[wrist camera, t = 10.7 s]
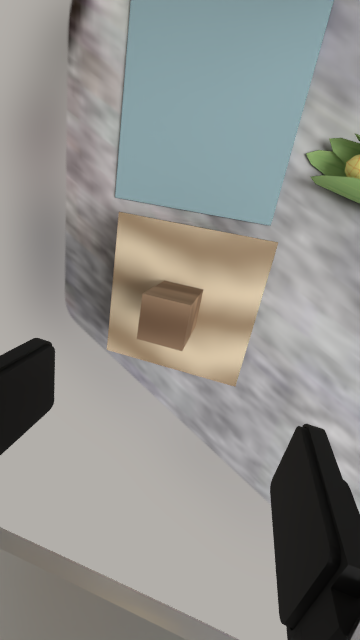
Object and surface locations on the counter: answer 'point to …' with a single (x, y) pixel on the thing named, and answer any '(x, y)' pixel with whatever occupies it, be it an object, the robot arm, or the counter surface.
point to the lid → (186, 295)
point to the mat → (215, 101)
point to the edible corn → (339, 168)
